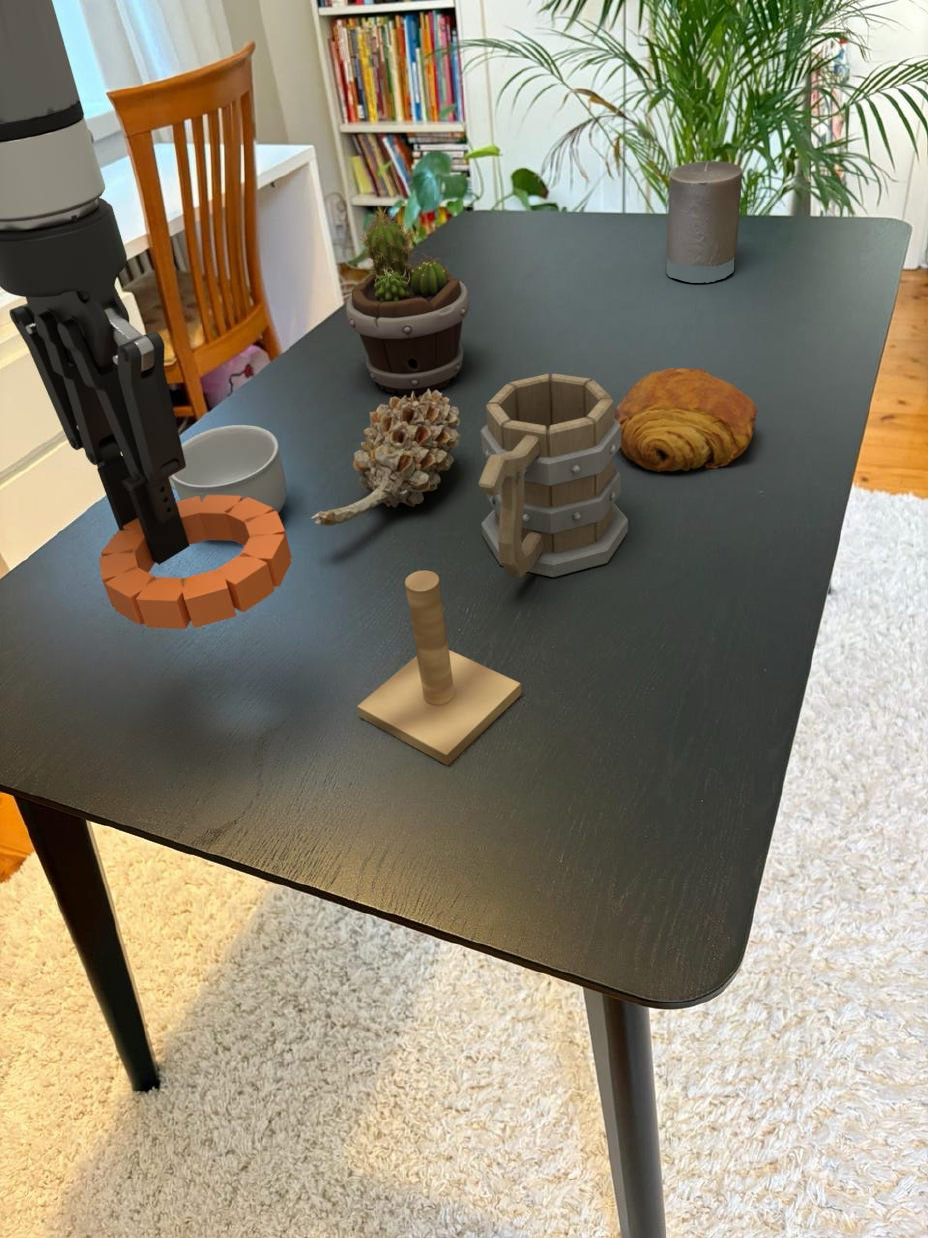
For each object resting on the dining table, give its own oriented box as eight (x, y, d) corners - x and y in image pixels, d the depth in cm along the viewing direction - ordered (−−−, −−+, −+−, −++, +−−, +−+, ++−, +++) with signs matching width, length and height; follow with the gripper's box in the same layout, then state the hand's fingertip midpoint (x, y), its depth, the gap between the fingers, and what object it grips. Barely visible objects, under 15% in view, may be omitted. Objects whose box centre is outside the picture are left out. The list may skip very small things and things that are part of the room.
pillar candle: (731, 258, 142) (740, 148, 133) (737, 283, 135) (746, 168, 126) (663, 261, 144) (667, 152, 135) (665, 286, 137) (670, 173, 127)
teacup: (315, 504, 100) (299, 435, 95) (246, 561, 93) (226, 490, 88) (214, 478, 106) (195, 411, 101) (143, 530, 99) (118, 461, 94)
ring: (75, 587, 68) (63, 559, 66) (214, 505, 75) (206, 478, 73) (185, 653, 61) (175, 624, 60) (326, 556, 68) (320, 527, 67)
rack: (359, 717, 75) (331, 592, 68) (434, 652, 80) (415, 530, 73) (448, 766, 70) (428, 638, 63) (521, 694, 76) (512, 567, 68)
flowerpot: (498, 382, 118) (485, 211, 105) (382, 417, 114) (354, 243, 101) (448, 342, 129) (431, 182, 116) (340, 373, 124) (310, 210, 112)
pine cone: (403, 450, 107) (391, 365, 101) (483, 462, 104) (475, 375, 97) (296, 563, 92) (273, 472, 86) (384, 581, 89) (367, 488, 82)
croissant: (597, 483, 102) (591, 420, 96) (641, 398, 111) (638, 335, 106) (736, 502, 96) (738, 436, 91) (771, 410, 105) (774, 345, 100)
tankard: (522, 489, 99) (512, 349, 89) (641, 512, 93) (645, 366, 84) (426, 605, 85) (403, 455, 76) (559, 639, 80) (552, 483, 71)
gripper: (180, 206, 54) (268, 554, 68) (27, 176, 62) (135, 492, 77) (62, 249, 49) (183, 610, 64) (-85, 210, 58) (52, 538, 72)
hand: (157, 545), depth 70 cm, fingers closed on ring, 3 cm apart
